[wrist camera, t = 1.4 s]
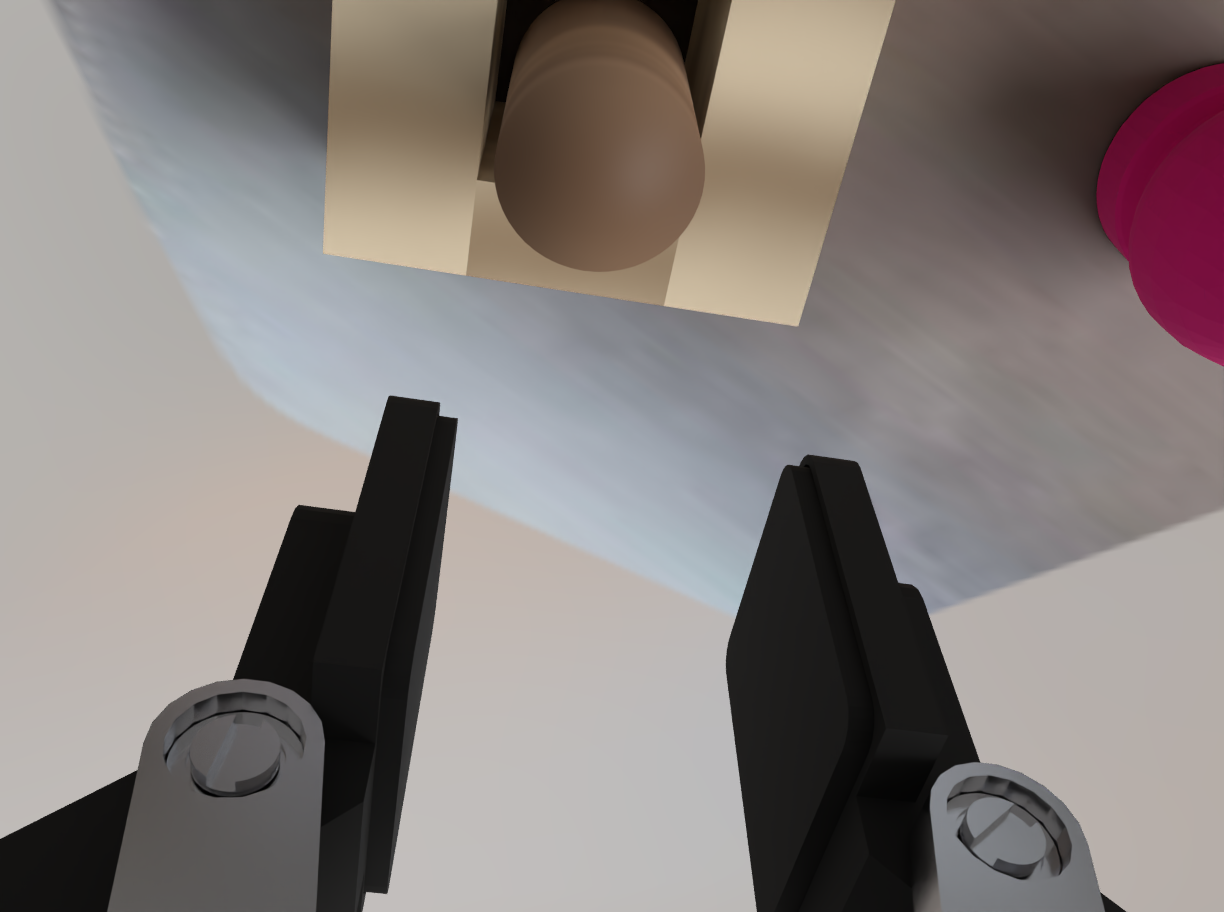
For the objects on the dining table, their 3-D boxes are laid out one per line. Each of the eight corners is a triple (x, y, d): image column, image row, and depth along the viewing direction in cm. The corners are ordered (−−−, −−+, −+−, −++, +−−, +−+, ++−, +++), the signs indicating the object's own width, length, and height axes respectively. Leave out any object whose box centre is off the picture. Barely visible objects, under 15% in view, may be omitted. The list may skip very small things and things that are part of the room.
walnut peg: (525, -24, 26) (507, 50, 21) (701, 8, 26) (726, 89, 21) (503, 149, 28) (482, 255, 23) (666, 177, 28) (681, 285, 23)
